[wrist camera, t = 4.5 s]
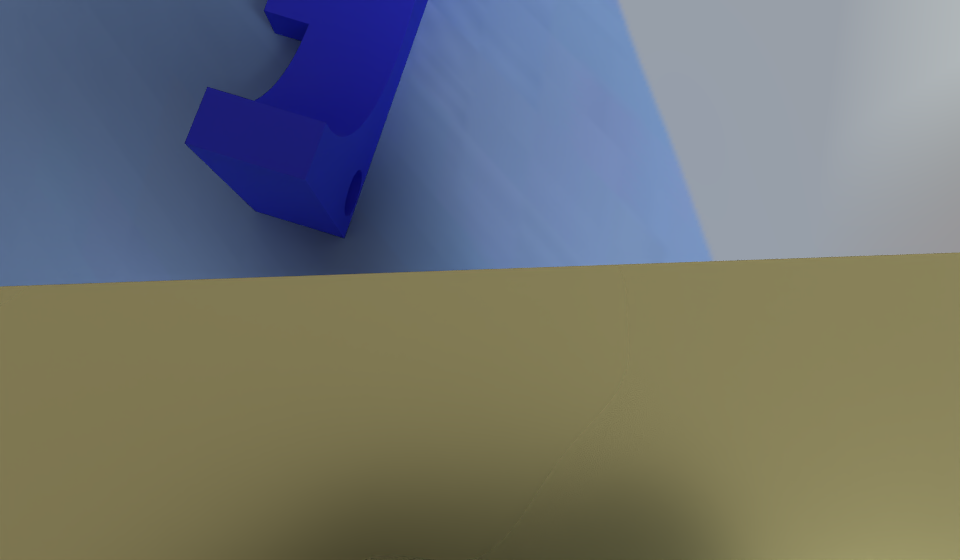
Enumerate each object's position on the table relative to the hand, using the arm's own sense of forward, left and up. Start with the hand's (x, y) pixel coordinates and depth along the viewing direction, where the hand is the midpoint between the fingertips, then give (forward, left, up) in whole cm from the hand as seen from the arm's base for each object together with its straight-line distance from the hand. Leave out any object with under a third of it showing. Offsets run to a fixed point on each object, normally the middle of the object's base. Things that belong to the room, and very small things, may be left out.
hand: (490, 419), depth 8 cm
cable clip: (+12, +2, -14) cm, 19 cm away
